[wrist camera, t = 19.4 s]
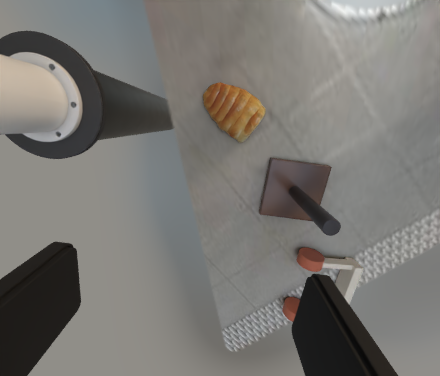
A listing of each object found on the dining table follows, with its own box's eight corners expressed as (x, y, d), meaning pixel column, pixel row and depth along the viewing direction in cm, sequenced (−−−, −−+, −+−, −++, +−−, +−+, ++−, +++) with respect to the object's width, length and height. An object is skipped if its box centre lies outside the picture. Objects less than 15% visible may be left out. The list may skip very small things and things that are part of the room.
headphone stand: (258, 211, 38) (278, 259, 25) (270, 157, 35) (298, 179, 22) (312, 218, 38) (360, 270, 25) (328, 165, 35) (391, 191, 22)
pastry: (195, 110, 33) (191, 109, 29) (219, 71, 31) (218, 64, 28) (243, 145, 35) (245, 147, 31) (268, 108, 33) (274, 107, 29)
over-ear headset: (286, 322, 40) (343, 325, 41) (305, 261, 36) (368, 266, 37) (279, 303, 44) (331, 306, 45) (295, 246, 40) (352, 251, 41)
